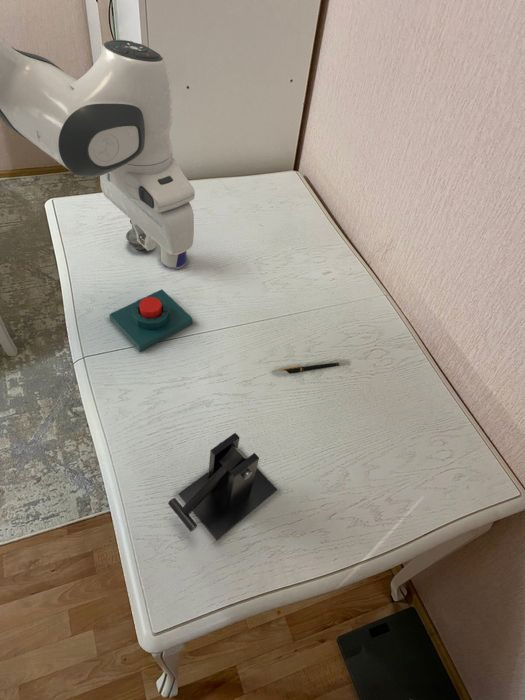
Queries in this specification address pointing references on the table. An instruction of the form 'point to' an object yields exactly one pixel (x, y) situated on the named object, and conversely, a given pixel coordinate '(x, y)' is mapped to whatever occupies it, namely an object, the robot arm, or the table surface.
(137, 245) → the grey chess piece
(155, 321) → the block
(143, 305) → the button
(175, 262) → the energy drink
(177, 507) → the switch lever
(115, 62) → the robot arm
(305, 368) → the fountain pen
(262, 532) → the table surface
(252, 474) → the switch base
